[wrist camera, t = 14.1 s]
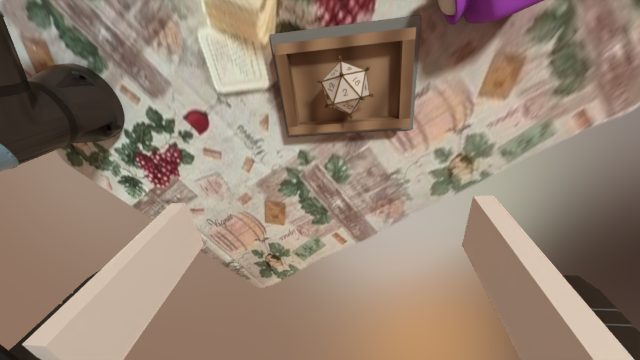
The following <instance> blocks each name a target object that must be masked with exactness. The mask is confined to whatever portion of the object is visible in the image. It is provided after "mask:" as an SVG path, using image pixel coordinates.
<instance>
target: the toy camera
mask: <svg viewBox="0 0 640 360" xmlns="http://www.w3.org/2000/svg"><path fill="white" fill-rule="evenodd" d="M541 1H543V0H438V4H439V7H440V9H441V11H442V12H443V13H444V15H445V18H446V19H447V21H448V22H449V23H450V24H452V25H453V24H455V23H456V22H457V21H458V20H459V19H460V17H461V16H462V15H463V13H464V15H465V18H466V20H467V21H468V22H470V23H483V22H492V21H497V20H500V19H502V18H505V17H507V16H510V15H512V14H514V13H517V12H519V11H521V10H523V9H525V8H528V7H530V6H532V5H534V4H537V3H539V2H541Z"/></svg>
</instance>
